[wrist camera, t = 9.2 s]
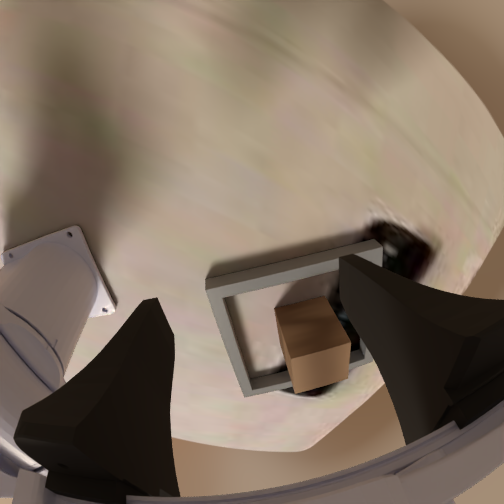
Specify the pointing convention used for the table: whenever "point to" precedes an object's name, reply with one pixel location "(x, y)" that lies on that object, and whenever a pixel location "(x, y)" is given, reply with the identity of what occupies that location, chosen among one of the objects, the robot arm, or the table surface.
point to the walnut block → (313, 344)
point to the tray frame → (272, 277)
